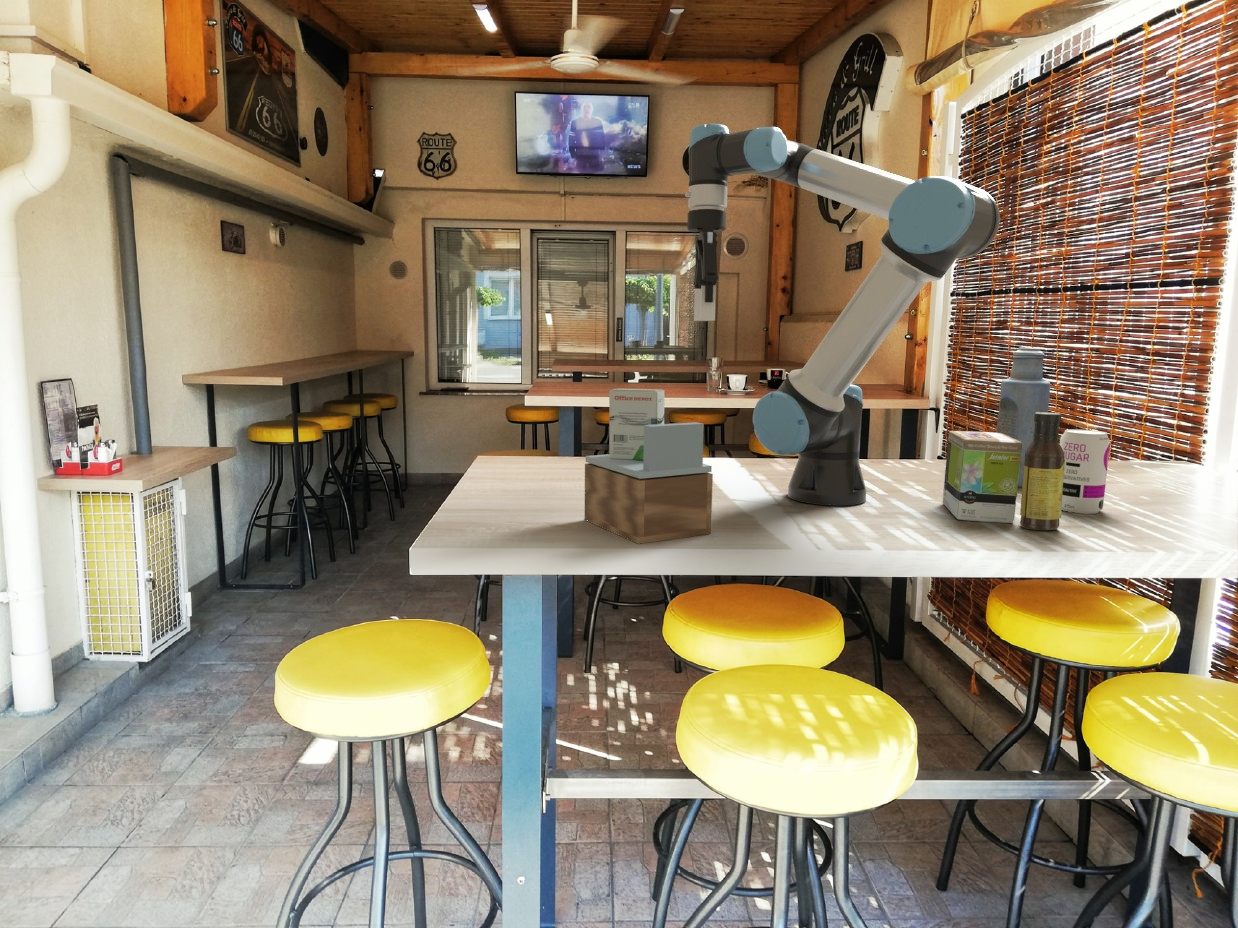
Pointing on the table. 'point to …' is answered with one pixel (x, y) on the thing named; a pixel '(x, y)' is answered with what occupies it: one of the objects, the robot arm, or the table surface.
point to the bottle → (1023, 399)
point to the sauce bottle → (1043, 475)
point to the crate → (648, 504)
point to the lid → (663, 452)
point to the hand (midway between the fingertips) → (703, 321)
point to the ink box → (632, 420)
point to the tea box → (982, 476)
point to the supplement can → (1084, 470)
